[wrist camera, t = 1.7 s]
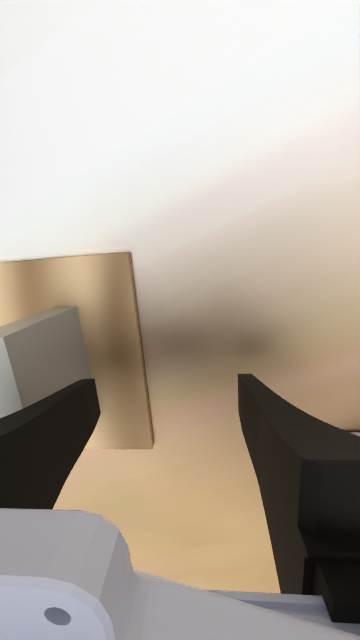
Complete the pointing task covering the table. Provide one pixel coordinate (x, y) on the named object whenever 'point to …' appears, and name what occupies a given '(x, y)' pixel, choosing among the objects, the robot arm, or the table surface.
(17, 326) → the tile
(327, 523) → the robot arm
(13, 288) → the wooden board
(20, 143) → the table surface
